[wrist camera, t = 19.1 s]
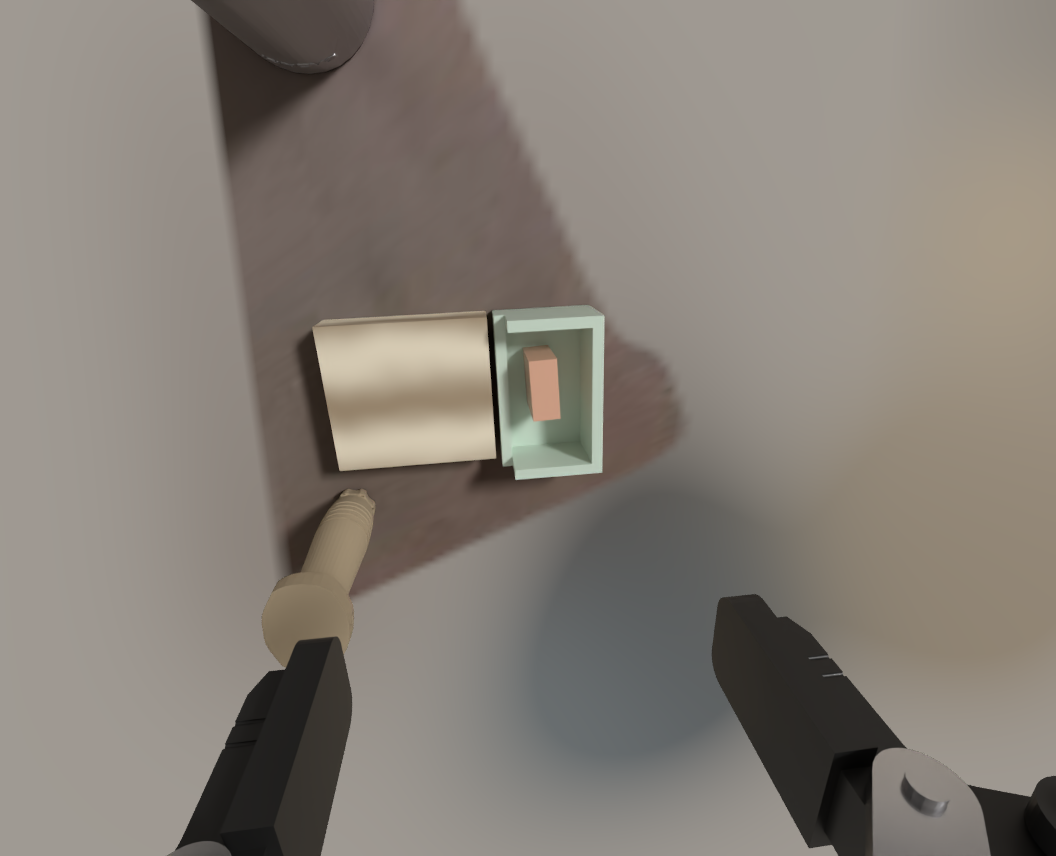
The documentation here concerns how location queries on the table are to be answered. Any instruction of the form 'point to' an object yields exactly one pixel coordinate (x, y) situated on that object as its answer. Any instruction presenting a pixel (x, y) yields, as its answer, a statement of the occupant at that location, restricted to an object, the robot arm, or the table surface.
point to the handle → (322, 580)
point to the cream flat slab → (407, 388)
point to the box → (580, 381)
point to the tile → (541, 382)
